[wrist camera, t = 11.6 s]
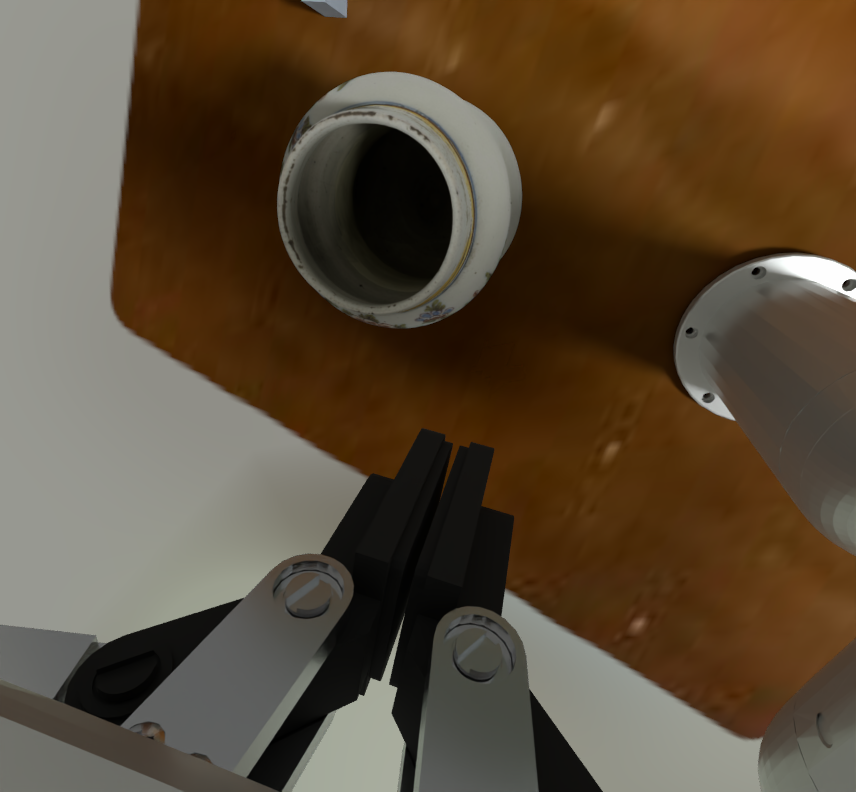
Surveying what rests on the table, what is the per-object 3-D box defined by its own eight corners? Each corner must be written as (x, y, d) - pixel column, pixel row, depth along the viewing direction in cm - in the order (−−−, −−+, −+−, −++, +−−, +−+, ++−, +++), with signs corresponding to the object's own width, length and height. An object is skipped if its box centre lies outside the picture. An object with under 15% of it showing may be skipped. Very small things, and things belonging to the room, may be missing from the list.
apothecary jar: (506, 291, 38) (471, 378, 22) (364, 262, 40) (238, 324, 24) (545, 118, 32) (535, 69, 17) (378, 93, 34) (226, 29, 18)
